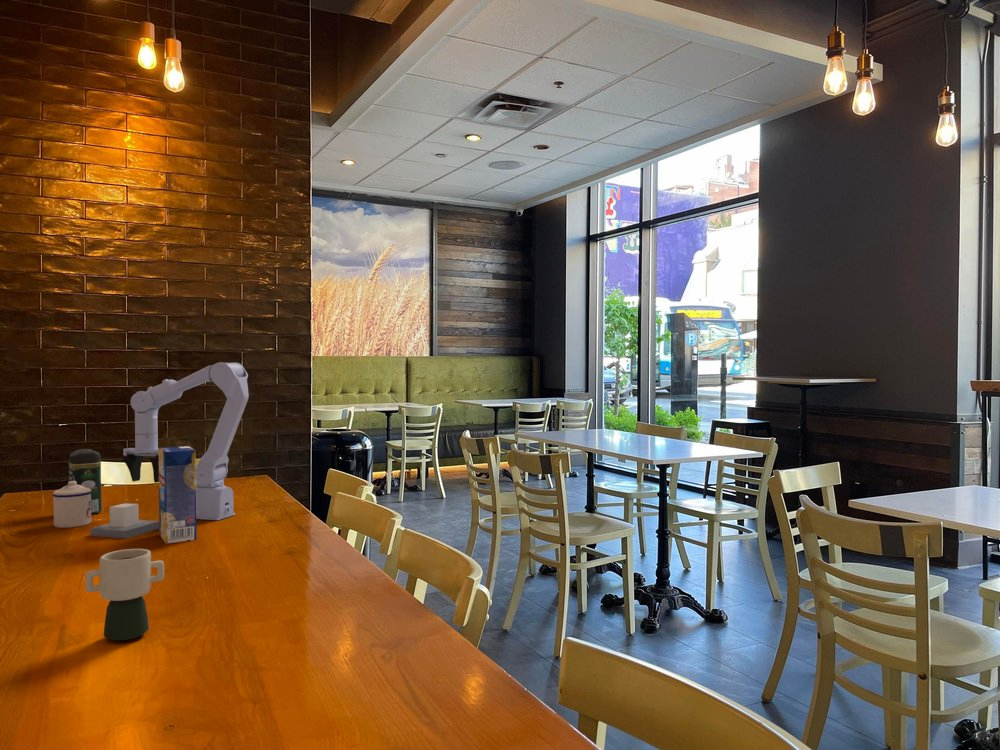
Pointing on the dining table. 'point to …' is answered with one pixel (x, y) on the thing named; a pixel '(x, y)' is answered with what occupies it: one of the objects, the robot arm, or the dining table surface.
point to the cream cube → (124, 515)
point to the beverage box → (177, 494)
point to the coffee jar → (87, 474)
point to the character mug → (125, 590)
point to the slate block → (125, 529)
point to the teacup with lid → (72, 506)
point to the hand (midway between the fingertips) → (146, 481)
